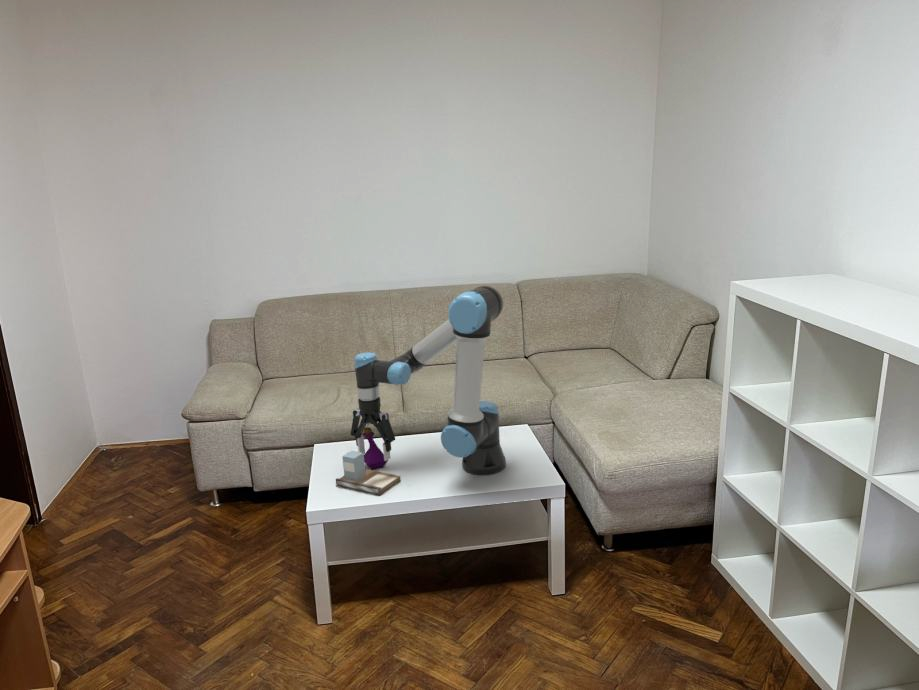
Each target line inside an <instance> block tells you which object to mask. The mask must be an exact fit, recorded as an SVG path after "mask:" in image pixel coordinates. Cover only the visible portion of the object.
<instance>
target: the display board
mask: <svg viewBox="0 0 919 690" xmlns="http://www.w3.org/2000/svg"><path fill="white" fill-rule="evenodd" d="M365 474H366V475H365V476H363V477H362V478H360V479H358V480H357V481H355V480H351V479H346V478H345V476H344V475H343V476H341V477H339V478H338V477H337V478H335V486H336V487H338V488H342V489H346V490H347V489H348V490H350V491H356V492H359V493H365V494H368V495H369V494H370V495H373V496H378V497H381V496H382V495H383V494H385V493H386V492H388V491H389V490H390V489H392V488H394V487H395V486H396V485H398V484H399V483H400V482H401V475H397V474H392V473H388V472H383V471H378V470H371V469H370V468H365Z"/></svg>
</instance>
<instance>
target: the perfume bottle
mask: <svg viewBox="0 0 919 690" xmlns="http://www.w3.org/2000/svg"><path fill="white" fill-rule="evenodd" d="M370 423H371V422H370ZM370 423H367V424H366V426H365V428H364V429H363V433H362V434H363V435H362V436H363V437H364V438H366V440H367V441H368V443H369V446H368V449H367V450H366V451H365V454H364V464H366V465H365V466H367V468H368V469H369V470H374V471H378V470H380V469H383V468H384V467H385V466H386V464H387V463H388V461H389V460H387V461H384V453H383V452H382V451H383V450H381V449H380V448H379V446H378V445H377V443H376V441H374V437H373V436H374V435H375V432H374V431H372V428H371V427H369V425H371V424H370ZM377 423H379V422H377Z"/></svg>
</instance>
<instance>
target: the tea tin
mask: <svg viewBox="0 0 919 690" xmlns="http://www.w3.org/2000/svg"><path fill="white" fill-rule="evenodd" d="M341 459H342V466H343V474H344V475H343V476H345V478H346V479H351V480H355V481H357V480H358V479H360V478H362V477H363V476H365V475H366V474H365V469H366V465H365V464H366V463H365V462H364V454H363V453H361V452H358V451H355V450H351V451H349V452H347V453H345V454H343V455H342V458H341Z"/></svg>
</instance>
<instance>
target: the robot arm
mask: <svg viewBox="0 0 919 690" xmlns="http://www.w3.org/2000/svg"><path fill="white" fill-rule="evenodd" d="M503 307H504V300H503V297H502V294H501V293H500V292H499V291H498V290H497V289H496V288H494V287H492V286H489V285H479V286H477V287H475V288H473V289H471V290H469V291H465V292H462V293H461V294H459V295H458V296H457V297H455V298H454V299H453V300H452V302H450V305H449V307H448V313H447V315H448V316H447V317H448V319H447V320H445V321H444V322H443V323H442V324H440V325H439V326H438V327H436V328H435V329H434V330H433V331H431V332H430V333H429V334H428V335H426V336H424V338H422V339H421V340H420V341H419V342H418V343H416V344H415V345H413V347H410V348H409V349H408V350H407V351H405V352H404V353H403V354H401V355H398V356H397V357H395V358H393V359H391V360H378V358H377V354H376V353H373V352H368V351H367V352H361V353H359V354H356V356H354V371H355V372H354V373H355V377H356V378H355V379H356V393H357V398H358V399H357V403H358V408H356V409H355V410H353V411H352V416H353V417H352V423H351V429H350V436H351V437H352V436H353V437H354V438H355V442H356V447H357V449H358V451H357V452H361V453H363V454H365V453H366V448H365V437H363V433H364V431H363V429H364V428H366V427H367V423H370V422H371V423H370V424H369V425H373V426H374V427H375V428H376V430H377V432H378V433H379V435H380V437H381V438H382V440H383V443H382V451H383V452H382V453H383V454H384V461H387V460H388V461H389V460H390V459H391V451H392V442H394V441H395V440H396V436H395V433H394V431H393V428H392V424H391V422H390V415H389V413H388V412H387V413H386V412H385V413H382V412H381V407H382V404H381V396H380V395H381V394H380V384H387V385H395V386H399V385H400V386H401V385H402V386H404V385H406V384H407V383H408V382H409V380H410V379H411V375H412V374H414V373H416V372H418V371H420V370H423V368H424V367H425V365H427V364H428V363H429V362H431V361H432V360H433V359H435V358H436V357H438V356H439V355H440V354H442V353H443V352H444V351H446V350H447V349H448V348H450V347H451V346H452V345H453V344H455V343H456V342H457V343H456V354H455V369H454V371H455V374H454V385H453V386H454V387H453V400H452V401H453V402H452V408H451V409H450V410H448V412H447V420H446V421H447V422H446V426H445V427H443V430H442V432H441V433H440V442H441V445H442V447H443V448H444V449H445V450H446V451H447V453H448V454H449V455H451V456H453V457H455V458H460V459H461V458H462V459H461V463H462V466H461V467H462V469H463V470H464V471H465V472H466V473H469V474H473V475H480V476H481V475H483V476H484V475H492V474H497V473H499V472H501V471H503V470H504V469H505V468H506V466H507V461H506V457H505V454H504V452H503V449H502V447H501V443H500V442H501V441H500V440H501V439H500V417H499V415H500V414H499V407H498V405H497V404H496V403H495V402H492V401H488V400H481V392H482V382H483V381H482V380H483V371H484V370H483V368H484V367H483V366H484V359H485V357H484V356H485V343H486V340H487V339H488V338H489V337H491V329H492V328H491V327H492V322H493V321H494V320H497V318H499V316H500V315H501V313H502V311H503V310H504V309H503ZM377 422H378V423H377ZM388 461H387V462H388Z"/></svg>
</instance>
